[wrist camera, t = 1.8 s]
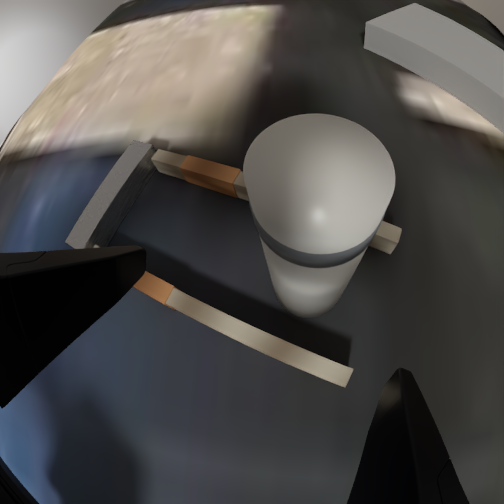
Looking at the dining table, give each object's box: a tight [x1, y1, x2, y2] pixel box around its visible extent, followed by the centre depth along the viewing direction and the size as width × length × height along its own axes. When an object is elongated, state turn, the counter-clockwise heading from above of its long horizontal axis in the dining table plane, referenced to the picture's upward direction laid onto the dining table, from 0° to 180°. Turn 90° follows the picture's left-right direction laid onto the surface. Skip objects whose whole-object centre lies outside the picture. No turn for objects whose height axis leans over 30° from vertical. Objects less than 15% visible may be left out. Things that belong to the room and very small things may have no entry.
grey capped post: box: [243, 114, 395, 318], centre depth 15 cm, size 5×5×13 cm
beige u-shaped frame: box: [65, 140, 402, 387], centre depth 22 cm, size 24×11×2 cm, turn 64°
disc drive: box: [364, 3, 504, 133], centre depth 27 cm, size 18×22×5 cm
